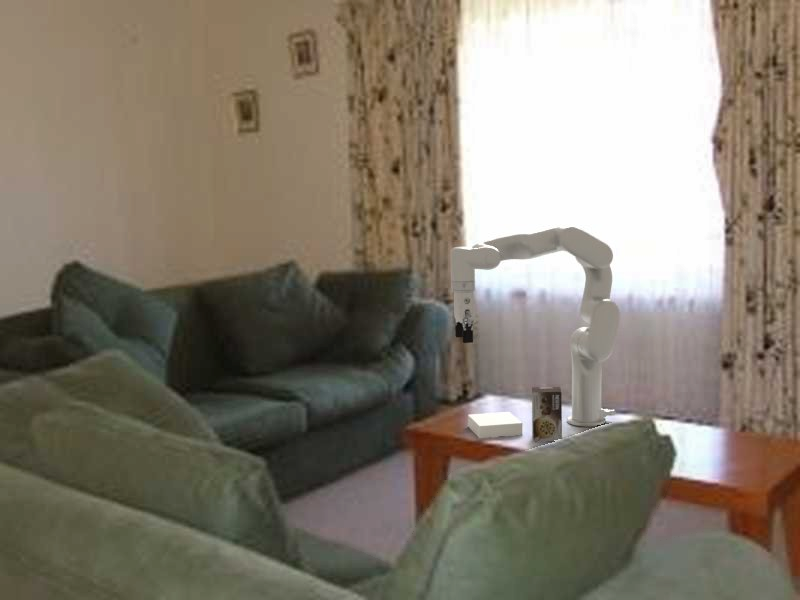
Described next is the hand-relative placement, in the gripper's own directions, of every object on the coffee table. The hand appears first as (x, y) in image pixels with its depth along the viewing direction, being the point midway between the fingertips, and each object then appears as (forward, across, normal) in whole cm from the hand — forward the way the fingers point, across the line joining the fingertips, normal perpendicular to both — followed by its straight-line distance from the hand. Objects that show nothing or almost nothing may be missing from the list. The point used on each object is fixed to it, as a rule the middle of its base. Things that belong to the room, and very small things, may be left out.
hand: (464, 339), depth 305 cm
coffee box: (+31, -13, -23) cm, 40 cm away
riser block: (+31, 0, -10) cm, 32 cm away
